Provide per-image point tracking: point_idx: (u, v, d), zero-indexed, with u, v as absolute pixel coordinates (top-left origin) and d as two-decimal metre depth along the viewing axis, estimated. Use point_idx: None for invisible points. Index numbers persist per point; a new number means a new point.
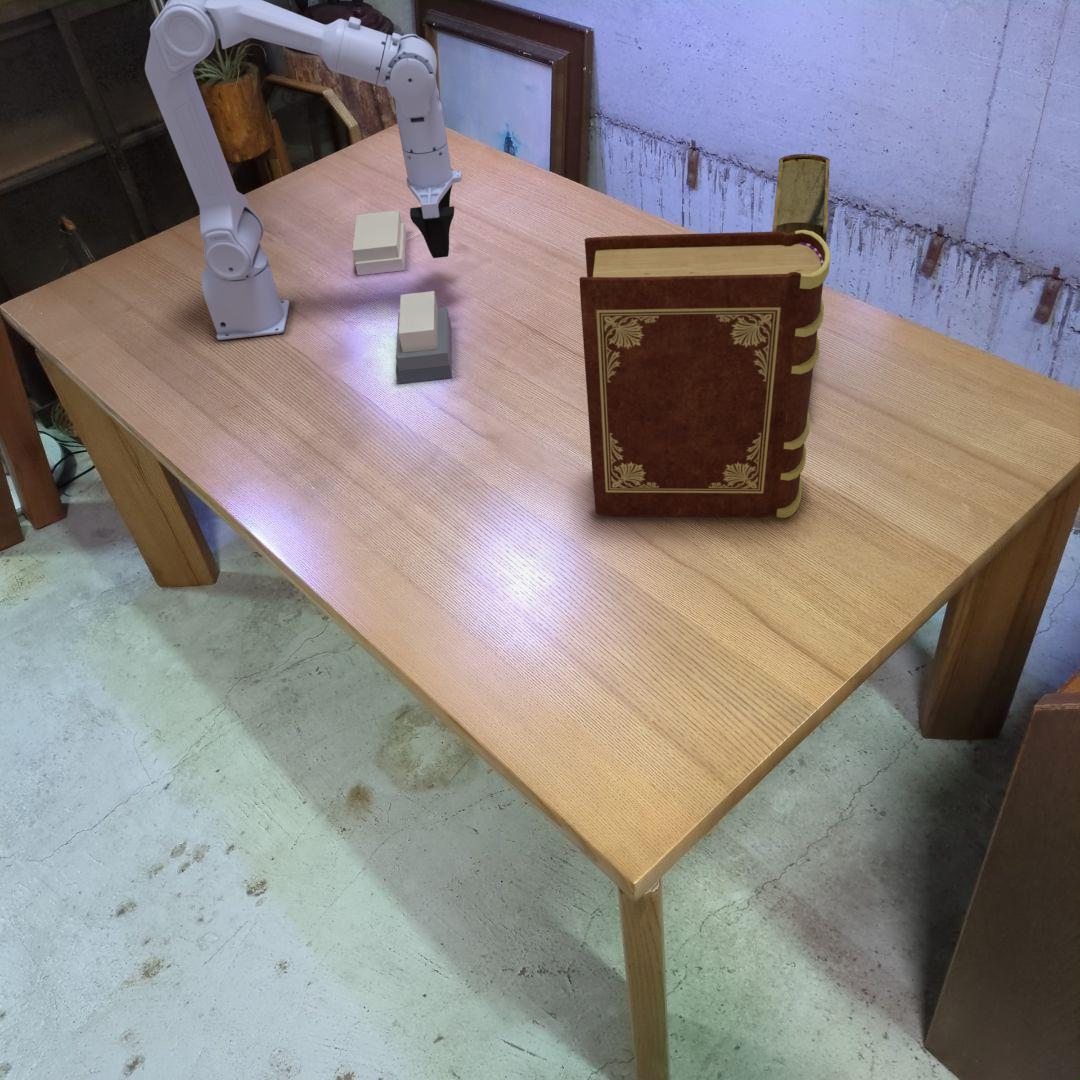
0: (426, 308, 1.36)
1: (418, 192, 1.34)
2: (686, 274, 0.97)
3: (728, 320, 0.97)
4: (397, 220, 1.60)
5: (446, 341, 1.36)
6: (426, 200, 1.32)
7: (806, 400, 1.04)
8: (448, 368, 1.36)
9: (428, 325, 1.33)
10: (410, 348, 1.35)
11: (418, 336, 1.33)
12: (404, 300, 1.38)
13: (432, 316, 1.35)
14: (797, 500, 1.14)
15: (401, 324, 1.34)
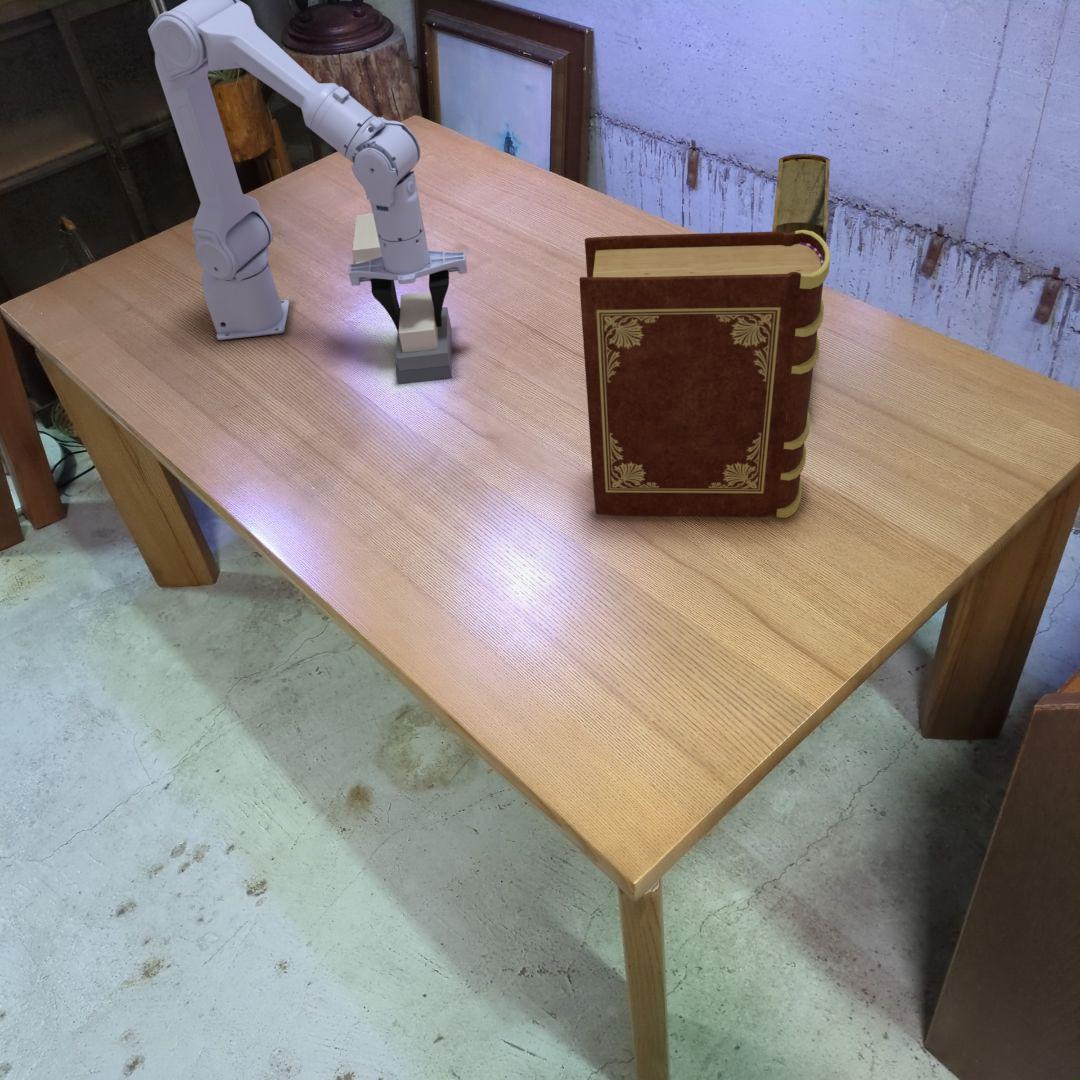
0: (426, 308, 1.36)
1: (383, 261, 1.32)
2: (686, 274, 0.97)
3: (728, 320, 0.97)
4: None
5: (446, 341, 1.36)
6: None
7: (806, 400, 1.04)
8: (448, 368, 1.36)
9: (429, 325, 1.33)
10: (410, 348, 1.35)
11: (418, 336, 1.33)
12: (405, 300, 1.38)
13: (432, 316, 1.35)
14: (797, 500, 1.14)
15: (401, 324, 1.34)
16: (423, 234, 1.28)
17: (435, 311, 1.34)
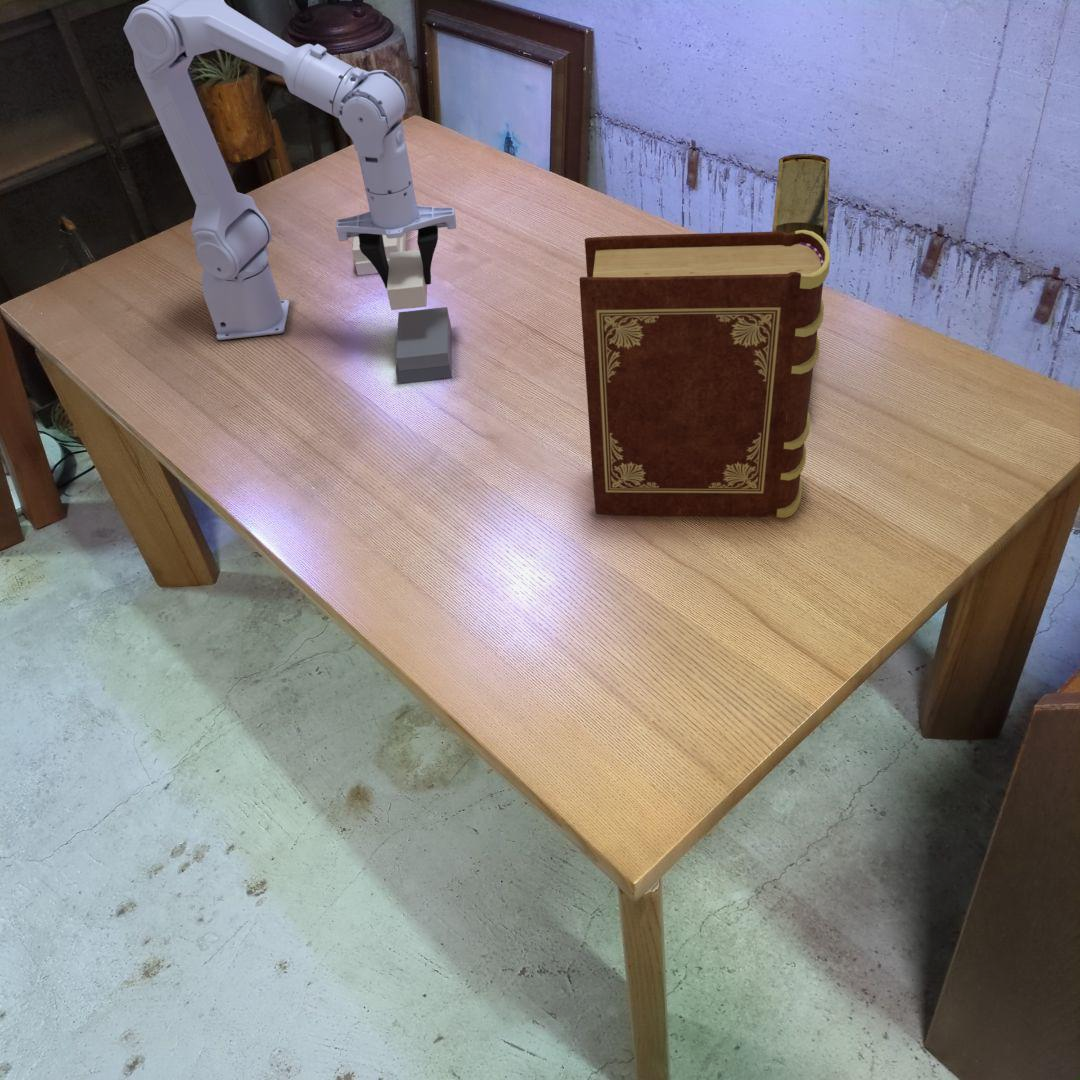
0: (415, 265, 1.35)
1: None
2: (686, 274, 0.97)
3: (728, 320, 0.97)
4: None
5: (446, 341, 1.36)
6: None
7: (806, 400, 1.04)
8: (448, 368, 1.36)
9: (417, 282, 1.32)
10: (399, 305, 1.33)
11: (406, 293, 1.32)
12: (394, 258, 1.36)
13: (421, 273, 1.33)
14: (797, 500, 1.14)
15: (389, 281, 1.33)
16: (411, 187, 1.26)
17: (424, 268, 1.33)
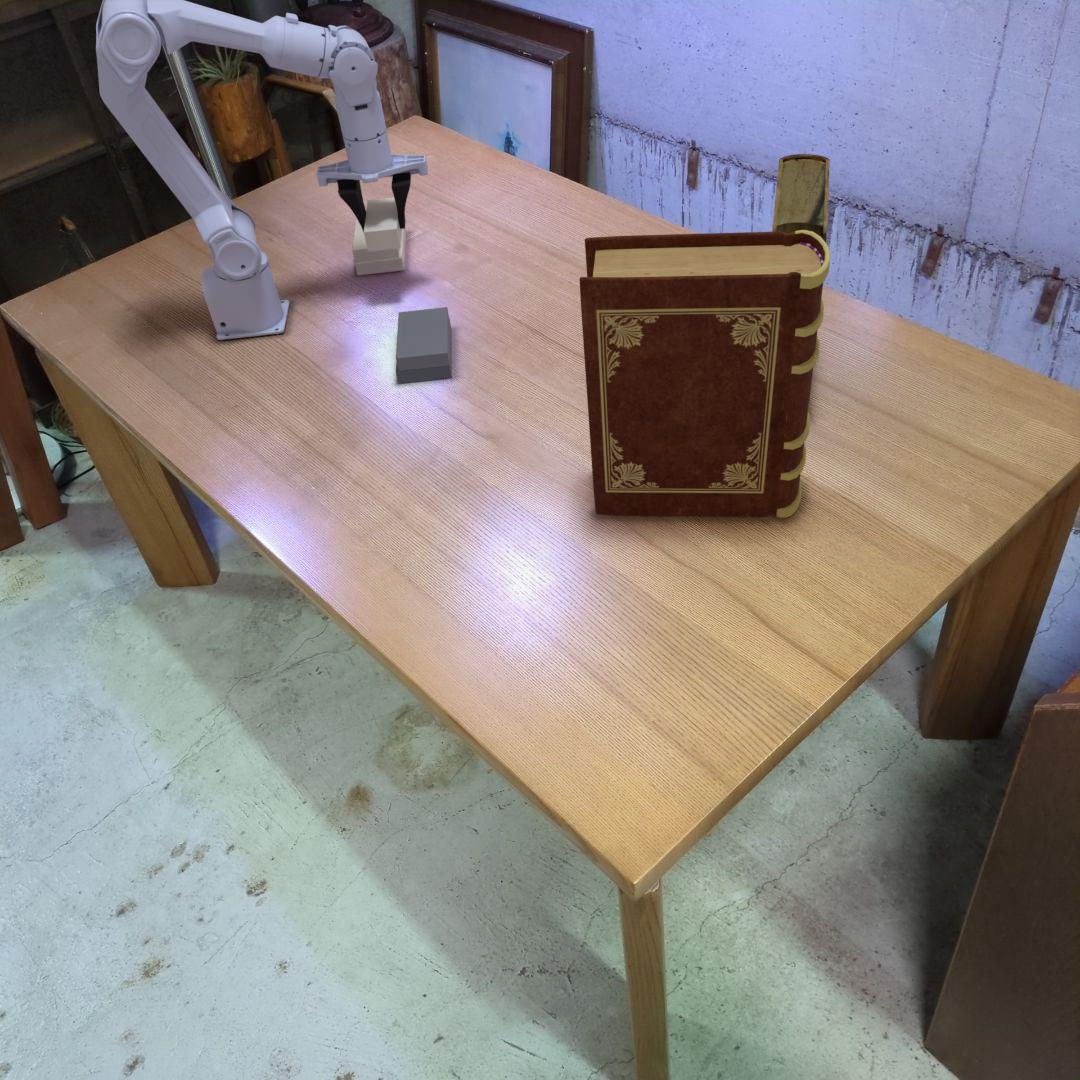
0: (390, 211, 1.45)
1: None
2: (686, 274, 0.97)
3: (728, 320, 0.97)
4: None
5: (446, 341, 1.36)
6: None
7: (806, 400, 1.04)
8: (448, 368, 1.36)
9: (392, 225, 1.42)
10: (375, 247, 1.43)
11: (382, 235, 1.42)
12: (371, 204, 1.47)
13: (396, 217, 1.44)
14: (797, 500, 1.14)
15: (366, 224, 1.43)
16: (385, 135, 1.36)
17: (398, 212, 1.43)
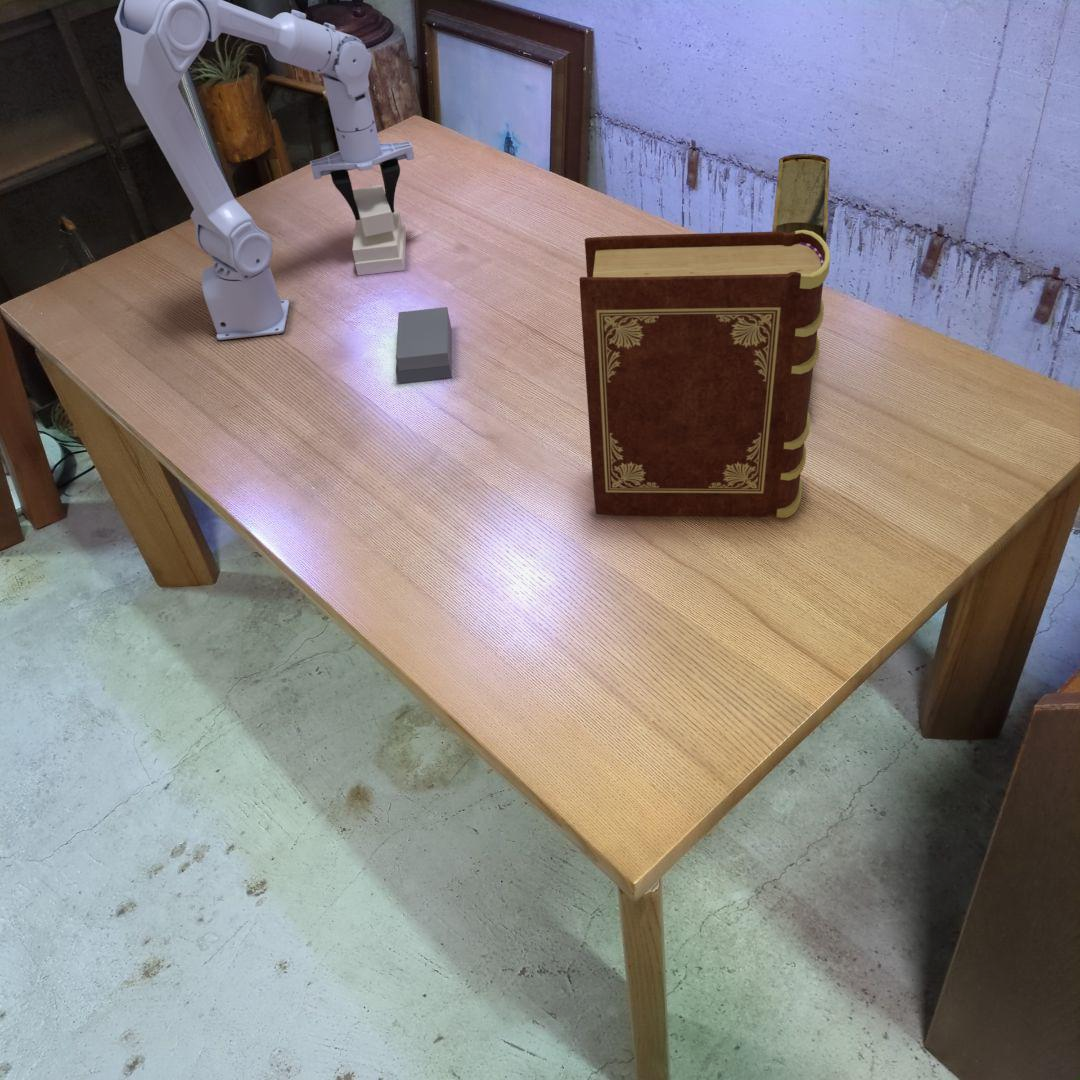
0: (379, 197, 1.55)
1: (339, 156, 1.50)
2: (686, 274, 0.97)
3: (728, 320, 0.97)
4: (397, 220, 1.60)
5: (446, 341, 1.36)
6: None
7: (806, 400, 1.04)
8: (448, 368, 1.36)
9: (386, 209, 1.52)
10: (371, 231, 1.53)
11: (378, 219, 1.52)
12: (357, 194, 1.56)
13: (386, 202, 1.54)
14: (797, 500, 1.14)
15: (360, 211, 1.53)
16: (375, 125, 1.47)
17: (389, 197, 1.53)
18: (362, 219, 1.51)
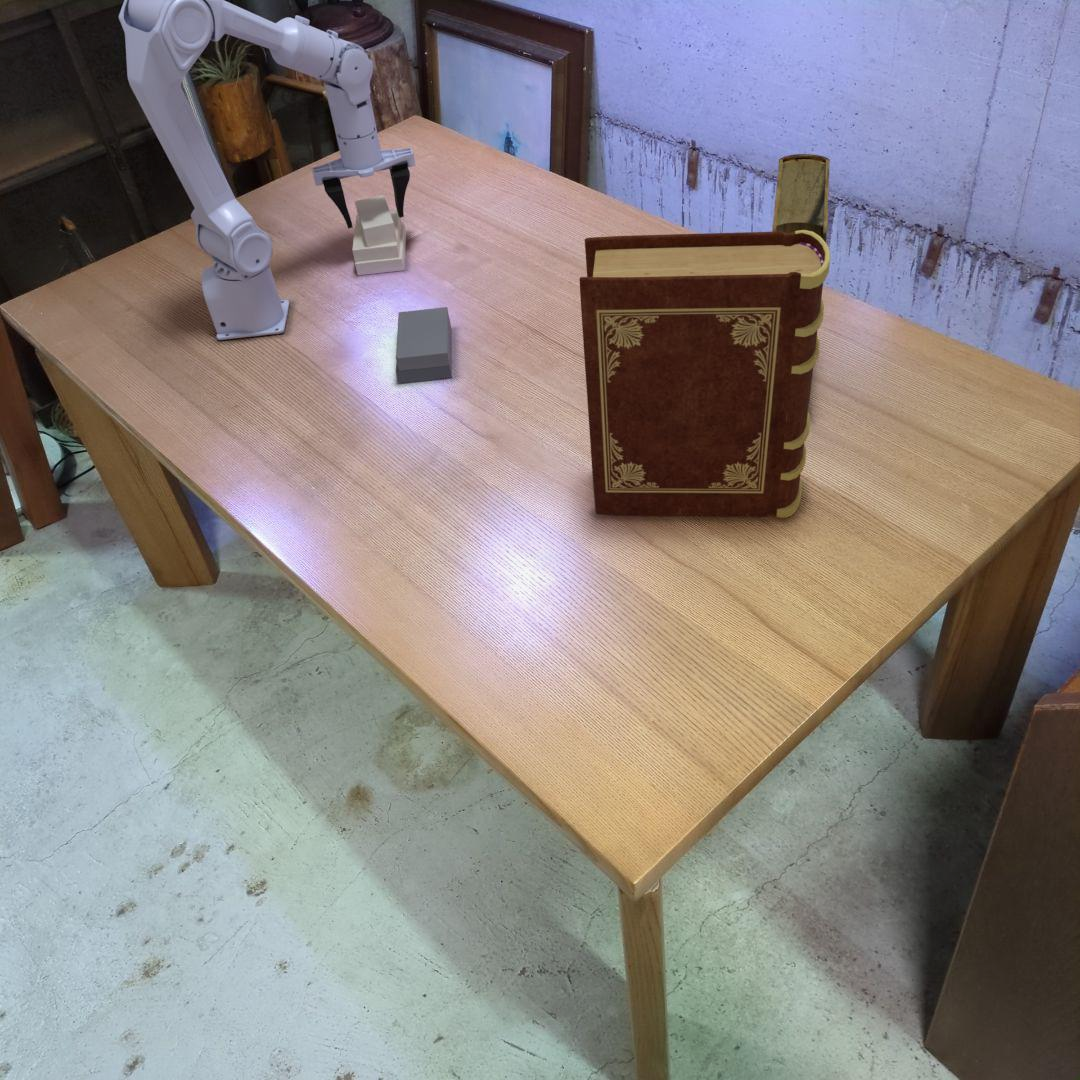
0: (381, 208, 1.56)
1: (340, 163, 1.51)
2: (686, 274, 0.97)
3: (728, 320, 0.97)
4: (397, 220, 1.60)
5: (446, 341, 1.36)
6: None
7: (806, 400, 1.04)
8: (448, 368, 1.36)
9: (388, 220, 1.54)
10: (373, 242, 1.54)
11: (380, 230, 1.53)
12: (360, 204, 1.58)
13: (388, 213, 1.55)
14: (797, 500, 1.14)
15: (363, 222, 1.54)
16: (376, 132, 1.47)
17: (398, 202, 1.54)
18: (364, 230, 1.53)
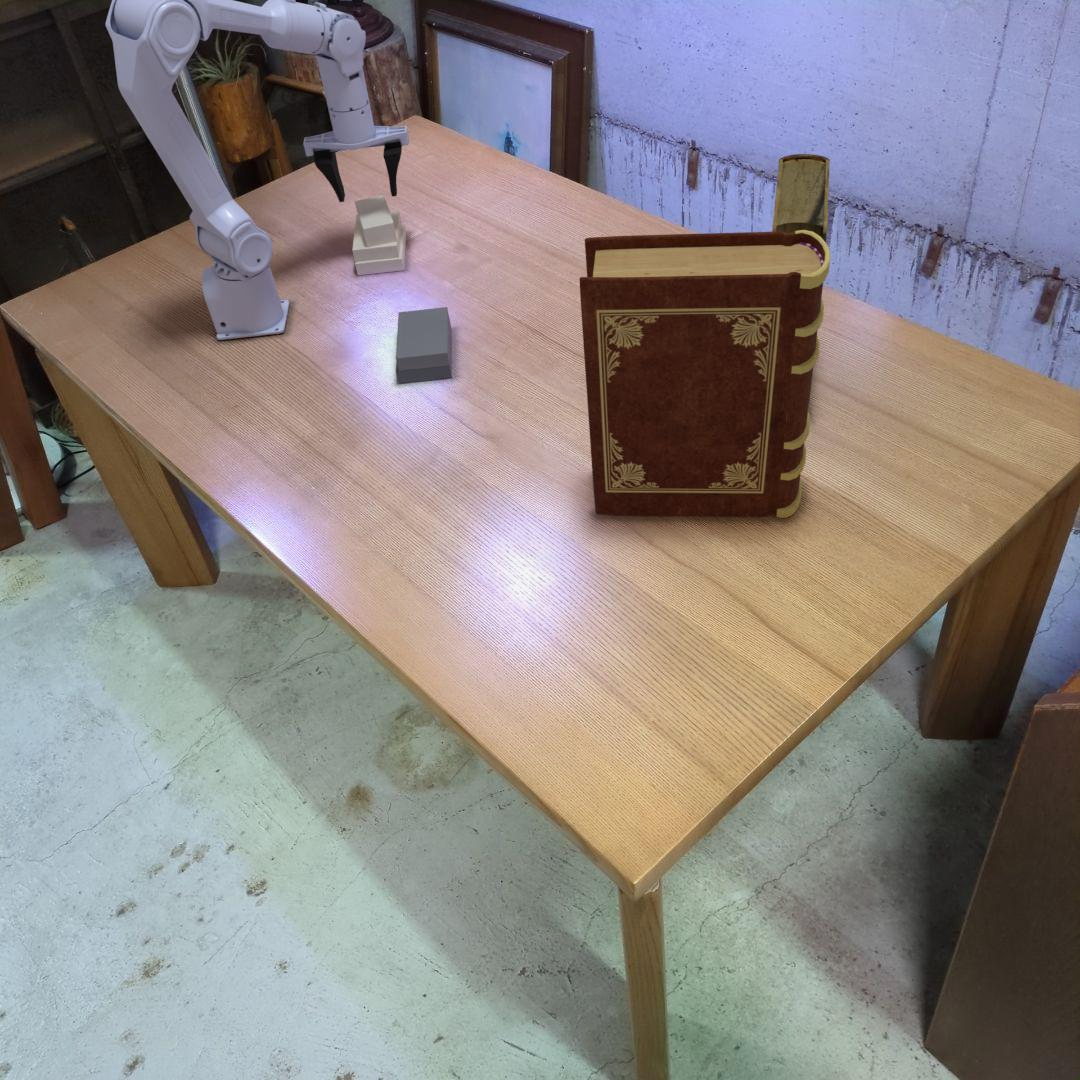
0: (381, 208, 1.56)
1: None
2: (686, 274, 0.97)
3: (728, 320, 0.97)
4: (397, 220, 1.60)
5: (446, 341, 1.36)
6: None
7: (806, 400, 1.04)
8: (448, 368, 1.36)
9: (388, 220, 1.54)
10: (373, 242, 1.54)
11: (380, 230, 1.53)
12: (360, 204, 1.58)
13: (388, 213, 1.55)
14: (797, 500, 1.14)
15: (363, 222, 1.54)
16: None
17: (339, 176, 1.54)
18: (364, 230, 1.53)
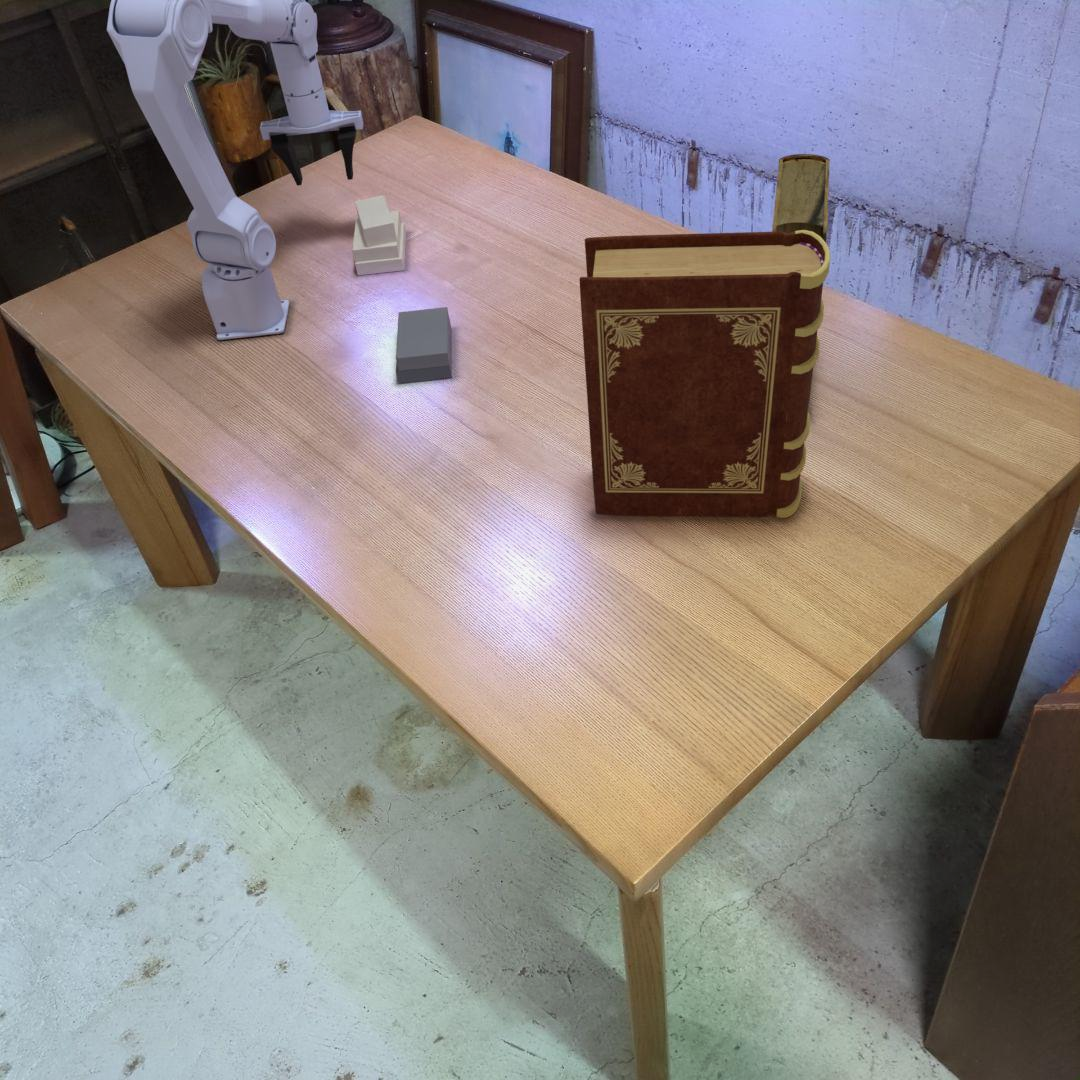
0: (381, 208, 1.56)
1: None
2: (686, 274, 0.97)
3: (728, 320, 0.97)
4: (397, 220, 1.60)
5: (446, 341, 1.36)
6: None
7: (806, 400, 1.04)
8: (448, 368, 1.36)
9: (388, 220, 1.54)
10: (373, 242, 1.54)
11: (380, 230, 1.53)
12: (360, 204, 1.58)
13: (388, 213, 1.55)
14: (797, 500, 1.14)
15: (363, 222, 1.54)
16: None
17: None
18: (364, 230, 1.53)
